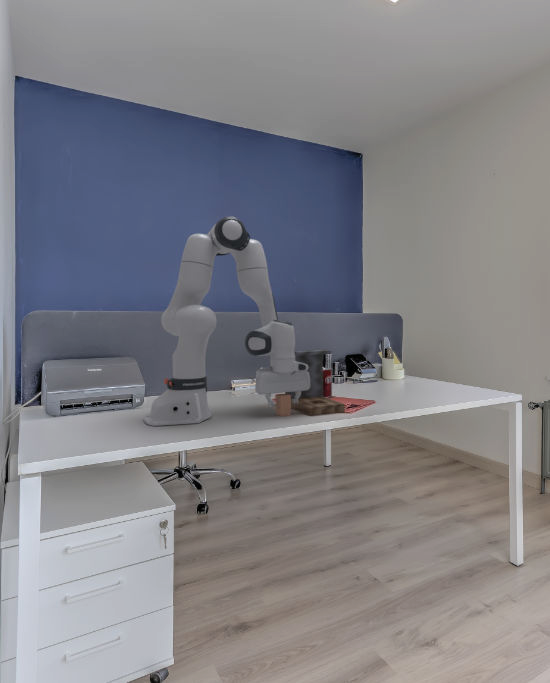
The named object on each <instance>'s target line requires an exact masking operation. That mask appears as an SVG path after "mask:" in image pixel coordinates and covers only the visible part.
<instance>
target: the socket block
mask: <svg viewBox="0 0 550 683" xmlns="http://www.w3.org/2000/svg"><path fill="white" fill-rule="evenodd" d="M294 354H295V361H298V362H300V363H304V364H307V365H308V370H307V371H308V372H309V375H310V388H309V390H306V391H301V395H300V397H299V399H298V404H293V403H292V401H293V400H292V398H295V395H296V393H295V392H284V394H285V393H286V394H289V395H291V410H292V409H293V410H295V411H298V412H300V413H302V414H304V415H308V416H310V417H314V416H321V415H331V414H339V413H346V410H345V408H346V407H345V406H346V404H345V403H344V402H340V401H337V400H335V399H331V398H326V397H323V368H324V355H330V354H331V355H332V350H330V349H315V350H313V349H312V350H298V351H296V350H294Z"/></svg>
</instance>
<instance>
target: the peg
mask: <svg viewBox="0 0 550 683" xmlns="http://www.w3.org/2000/svg"><path fill="white" fill-rule="evenodd" d="M275 414H276V415H278V416H280V417H285V416H291V415H292V408H291V395H289V394H286V393H285V392H284V393H275Z"/></svg>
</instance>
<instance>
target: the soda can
mask: <svg viewBox="0 0 550 683" xmlns="http://www.w3.org/2000/svg"><path fill="white" fill-rule="evenodd" d="M332 374H333V369H332V368H330V367H323V397H330V398H331V397H332V396H333V375H332Z"/></svg>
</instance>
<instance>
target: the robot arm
mask: <svg viewBox="0 0 550 683" xmlns="http://www.w3.org/2000/svg"><path fill="white" fill-rule="evenodd" d="M263 247H264V246H263V245H262V243H261V242H260V241H259V240H257V239H253V238H252V239H251V236H250V234H249V232H248V230H247V229H246V227H245V225H244V223H243V222H242V220H240V219H239V218H238V217H235V216H225V217H222V218H220V219H219V220H218V221H217V222H216V223H215V224H213V226H212V227H211V229H210V230H209V232H208V233H206V234H204V233H194V234H191V235H190V236H189V237H188V238H187V240H186V243H185V246H184V248H183V252H182V256H181V260H180V266H179V267H180V268H179V271H178V277H177V283H176V285H175V286H176V287H175V290H174V292H173V294H172V297H171V300H170V301H169V304H168V305H167V307H166V309H165V310H164V311H163V313H162V314H161V317H160V318H161V319H160V321H161V322H160V323H161V327H162V328H163V330H164V331H166V332H167V333H168V334H170V335H173V336H174V337H178V343H177V346H176V349H175V351H174V352H173V353H172V357H171V358H172V377H171V378H164V380H163V383H164V384H165V385H167V389H166V390H164V392H162V393H161V394H160V395H159V396H157V398H155V399H154V400H153V401H152V403H151V408H150V414H146V415H145V416H144V417H143V418H144V420H143V421H144V423H145V424H146V425H149V426H152V427H153V426H154V427H158V426H161V427H162V426H174V425H188V424H199V423H201V422H203V421H205V420H208V419H210V418H211V417H212V414H211V411H210V408H209V407H210V406H209V402H208V394H207V393H208V378H207V376H206V353H207V347H208V343H209V339H210V337H211V334H212V333H213V332H214V331H215V330H216V327H217V317H216V313H215V312H214V311H213V310H212V309H211V308H209V307H208V306H205V305H201V304H202V302H203V299H204V298H205V296H206V295H207V294H208V293H209V291H210V289H211V285H212V284H211V282H212V277H213V276H212V275H213V270H214V264H215V259H216V257H217V256H218V257H219V256H227V255H229V254H230V255H231V256H232V257H233V259H234V261H235V265H236V266H235V267H236V274H237V282H238V285H239V288H240V290H241V291H242V293H243V294H244V295H246V296H248V297H249V298H251V299H252V300H253V301H254V302H255V304H256V305H257V307H258V310H259V315H260V316H259V317H260V321H261V325H262V326H261V327H260V328H256V329H254V330H251V331H250V332H248V333H247V335H246V336H245V338H244V346H245V349H246V351H247V352H248V353H249V355H251V356H255V357H265V356H269V358H270V364H269V366H266V367H259V368H258V369H256V371H255V389H254V390H255V392H256V394H258V395H260V396H262V395H264V397H265V398H266V400H267V403H268V404H267V405H268V407H274V406H275V401H274V400H272V399H271V397H272V394H285V392H295V393H296V395H295V398H292V400H293V401H292V403H293V404H298V399H299V397H300V395H301V391H306V390H309V388H310V375H309V372H308V371H307V370H308V365H307V364H304V363H300V362H298V361H295V354H294V351H295V347H296V334H295V327H294V325H293V323H292V322H291V321H288V320H285V319H279V318H278V313H277V307H276V302H275V297H274V295H273V291H272V288H271V283H270V278H269V277H270V276H269V270H268V262H267V259H266V258H267V257H266V255H265V251H264V250H265V249H264V248H263Z"/></svg>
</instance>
